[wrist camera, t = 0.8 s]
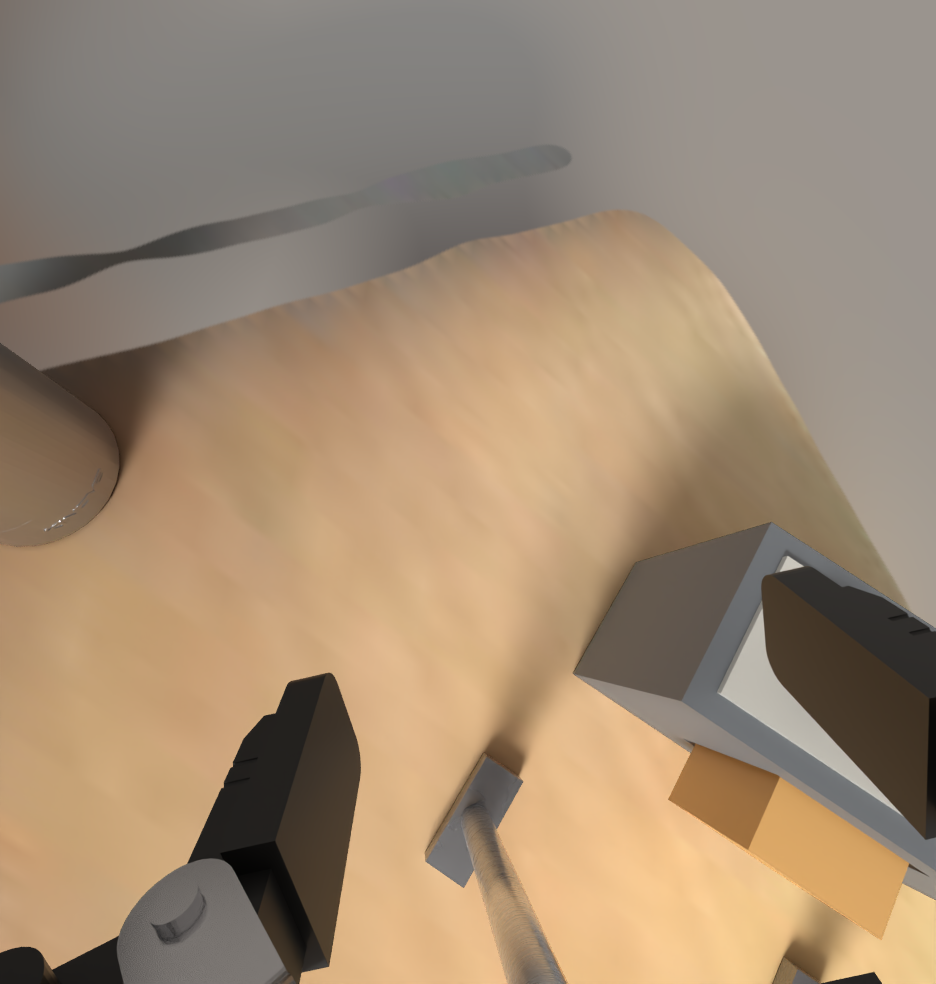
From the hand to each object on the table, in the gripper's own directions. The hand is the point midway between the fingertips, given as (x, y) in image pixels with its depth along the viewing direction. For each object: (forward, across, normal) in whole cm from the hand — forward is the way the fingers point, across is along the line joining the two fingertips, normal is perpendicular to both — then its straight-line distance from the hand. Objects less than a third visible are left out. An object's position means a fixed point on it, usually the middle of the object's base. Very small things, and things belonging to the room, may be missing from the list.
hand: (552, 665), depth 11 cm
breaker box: (+20, -12, +19) cm, 30 cm away
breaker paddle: (+14, -9, +20) cm, 26 cm away
